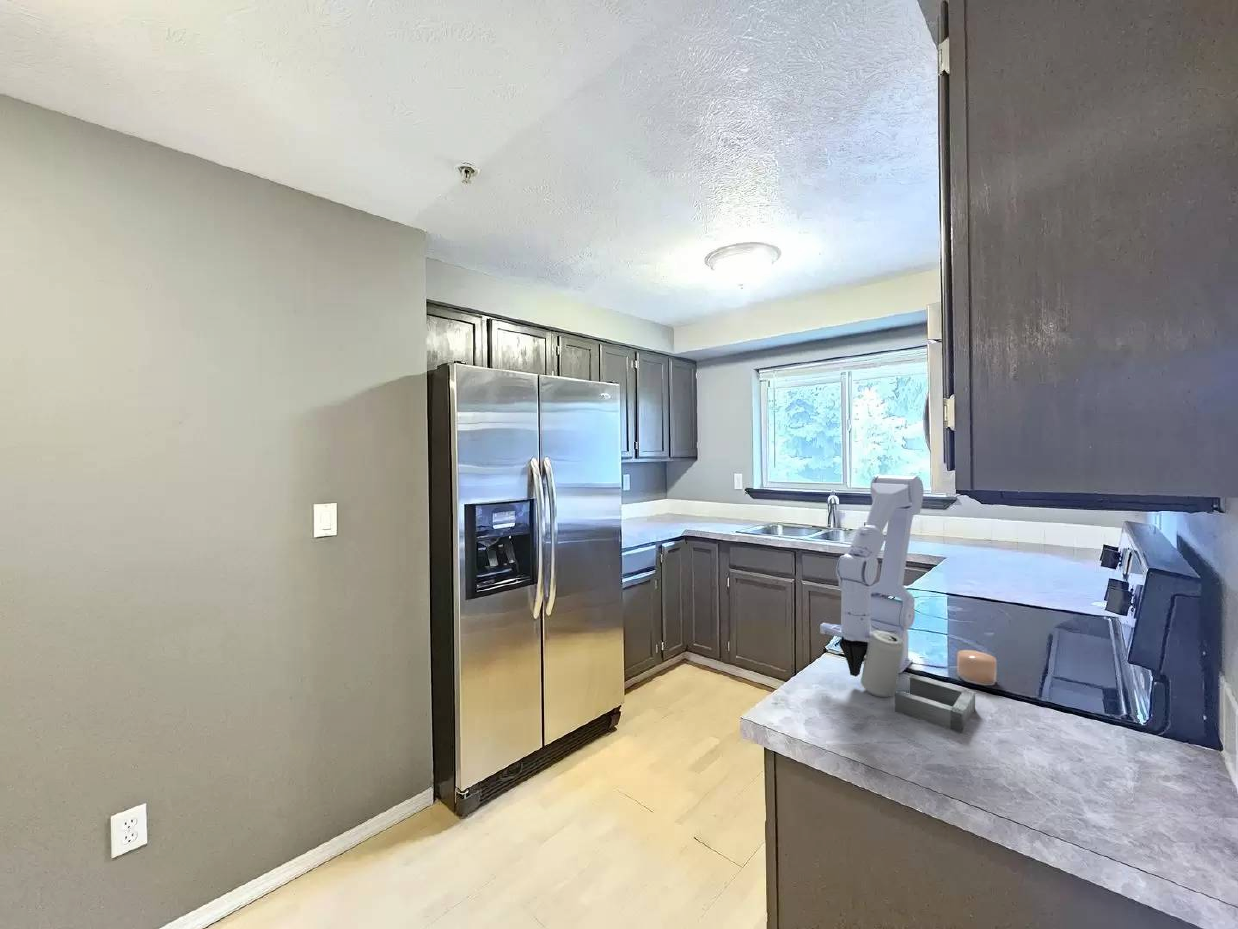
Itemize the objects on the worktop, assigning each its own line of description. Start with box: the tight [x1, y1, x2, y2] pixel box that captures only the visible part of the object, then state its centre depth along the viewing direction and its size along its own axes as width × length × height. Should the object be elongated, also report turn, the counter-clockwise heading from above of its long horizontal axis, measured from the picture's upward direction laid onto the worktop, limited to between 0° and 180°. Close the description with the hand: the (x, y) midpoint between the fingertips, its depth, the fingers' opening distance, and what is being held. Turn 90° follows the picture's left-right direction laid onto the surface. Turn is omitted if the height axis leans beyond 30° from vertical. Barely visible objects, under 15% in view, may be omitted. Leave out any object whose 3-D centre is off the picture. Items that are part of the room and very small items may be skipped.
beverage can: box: [860, 630, 903, 698], centre depth 107 cm, size 6×6×12 cm
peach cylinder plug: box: [956, 649, 998, 684], centre depth 114 cm, size 7×7×5 cm
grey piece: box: [894, 673, 976, 734], centre depth 101 cm, size 11×11×4 cm
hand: (855, 674), depth 111 cm, fingers closed
